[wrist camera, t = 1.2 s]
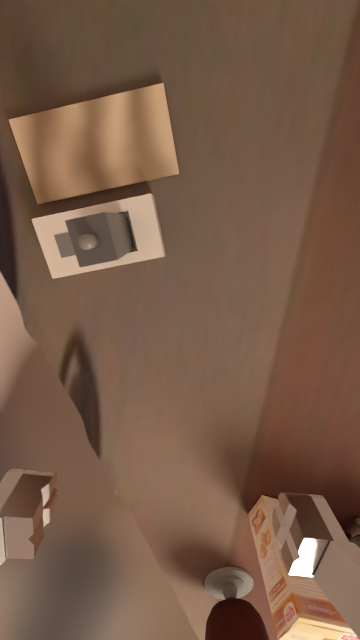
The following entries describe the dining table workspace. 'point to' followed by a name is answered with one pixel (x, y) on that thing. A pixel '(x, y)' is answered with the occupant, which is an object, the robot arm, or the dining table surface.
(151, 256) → the beige holder tray
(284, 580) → the coffeecake box
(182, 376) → the dining table surface
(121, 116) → the oak board
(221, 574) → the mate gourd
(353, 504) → the dining table surface
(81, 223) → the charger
